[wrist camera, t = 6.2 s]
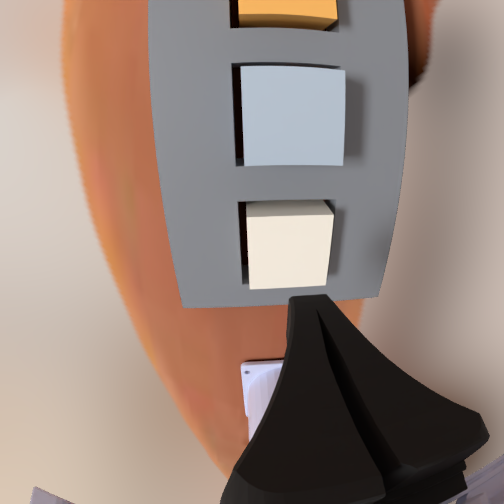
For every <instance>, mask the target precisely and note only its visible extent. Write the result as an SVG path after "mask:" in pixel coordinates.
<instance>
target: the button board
mask: <svg viewBox="0 0 504 504" xmlns="http://www.w3.org/2000/svg"><path fill="white" fill-rule="evenodd" d="M336 7H337V20H336V21H334V22H333V23H332V24H330V25H329V26H328V27H327V31H319V30H309V29H294V28H231V5H230V0H148V46H149V73H150V91H151V105H152V117H153V128H154V138H155V147H156V156H157V164H158V172H159V179H160V187H161V194H162V200H163V207H164V213H165V219H166V225H167V231H168V237H169V242H170V248H171V253H172V258H173V263H174V268H175V273H176V278H177V283H178V287H179V292H180V297H181V301H182V305H183V308H214V307H245V306H267V305H285V304H288V301H289V298H290V297H292V296H302V295H317V294H327V295H328V296H329V297H330V299H331V300H332V301H340V300H351V299H362V298H372V297H378V295H379V291H380V287H381V283H382V280H383V275H384V272H385V267H386V263H387V259H388V254H389V250H390V245H391V240H392V235H393V230H394V225H395V220H396V214H397V209H398V208H397V207H398V203H399V196H400V189H401V182H402V174H403V166H404V156H405V147H406V134H407V118H408V89H409V73H408V43H407V29H406V18H405V9H404V1H403V0H336ZM241 66H297V67H314V68H326V69H336V70H345V133H344V155H343V166H335V165H264V166H244V158H236V137H235V115H234V91H233V68H241ZM308 199H325V203H326V205H327V206H328V207H329V209H330V210H331V212H332V213H333V214H334V218H333V229H332V238H331V247H330V256H329V264H328V272H327V279H326V285H323V286H307V287H290V288H271V289H250V285H249V265H242V255H241V237H240V218H239V202H240V201H266V200H308Z"/></svg>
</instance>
